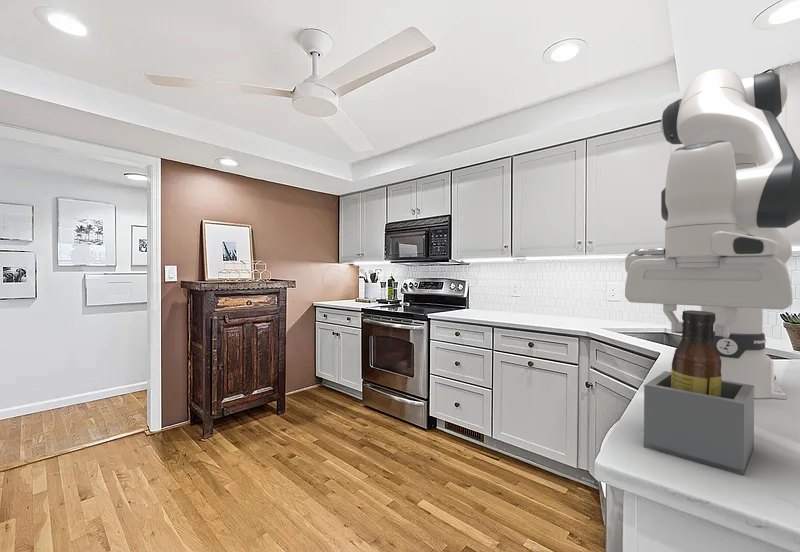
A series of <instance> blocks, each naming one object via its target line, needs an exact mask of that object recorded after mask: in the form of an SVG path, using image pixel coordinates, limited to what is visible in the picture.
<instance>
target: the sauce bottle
mask: <svg viewBox="0 0 800 552" xmlns="http://www.w3.org/2000/svg"><path fill="white" fill-rule="evenodd" d="M681 319H682V322H683V334H681V339H680V342H679V343H678V346H677V347H676V348H675V350H674V353H673V357H672V361H671V371H670V372H671V388H674V389H679V390H685V391H690V392H695V393H701V394H706V395H712V396H717V397H721V379H722V375H721V364H722V363H721V359H720V356H719V352H718V351H717V350H716V348H715V346H714V344H713V324H714V322H715V321H716V320H715V313H712V312H705V311H701V310H695V309H694V310H682V316H681Z"/></svg>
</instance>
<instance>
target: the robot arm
mask: <svg viewBox="0 0 800 552" xmlns="http://www.w3.org/2000/svg"><path fill="white" fill-rule="evenodd" d="M787 99H788V87H787V84H786V82H785V81H784V80H783V79H782V78H781V77H780V74H779V73H777V72H775V71H772V72H770V71H769V72H761V73H756V74H753V76H750V77H744V78H741V77H740V76H739V74H737V73H736V72H735V71H733V70H731V69H727V68H713V69H711V70H710V69H709V70H708V71H704V72H703V73H701V74H699V75H698V76H697V77H695V78H694V79H693V80H692V81H691V82H690V84H689V85H688V87H686V90H685V92H684V94H683V96H682V97H681V98H679V99H677V100H676V101H673V102H671V103H670V104H668V105H667V106H666V107H665V109H664V110H663V112H662V115H661V119H660V130H661V132H662V135H663V137H664V138H665V141H666V142H668V143H670V144H672V145H683V146H681V147H678V148H676V149H675V150H673V151H672V152H671V153H670V155H669V159H668V164H667V172H666V179H665V187H664V188H663V189H662V190H661V192H660V193H661V194H660V195H661V198H660V201H661V203H660V204H661V205H660V208H661V209H660V211H661V212H660V215H661V218H662V219H663V220H664V221H665V222H666V223H665V226H664V229H665V230H664V233H665V235H664V236H665V237H664V247H655V248H653V247H652V248H648V249H647V248H645V249H644V248H639V249H635V250H634V251H632V252H630V253H629V254H627V255H626V257H625V259H624V263H625V264H624V269H625V271H626V273H627V274H626V279H625V284H624V285H625V287H624V296H625V298H626V300H627V301H628V302H629V303H635V304H637V303H638V304H653V305H654V304H656V305H657V304H658V305H662V307H663V308H662V311H663V313H664V315H665V316H666V317H667V319H668V321H670V323H671V324H670V325H671V327H670V328H671V333H672V334H681V335H682V334H683V321H680V320H679V319H678V318H677V316H676V314H675V313H674V312H676V311H677V306H680V305H681V306H697V307H698V306H699V307H700V311H705V312H712V313H715V320H716V321H715V322H714V324H713V344H714V346H715V348H716V350H717V351H718V352H719V356H720V359H721V363H722V364H721V375H722V379H721V380H723V381H730V382H736V383H742V384H748V385H754V399H776V400H777V399H778V400H786V399H787V394H786V393H785V392H784V390H783V389H782V388H781V387H780V386H779V384H777V382H775V381H777V380H776V379H777V377H776V375H775V373H774V371H775V370H774V360H773V358H771V357H770V356H769V355H768V354H767V353H766V352H765V349H766V343H767V340H766V334H765V332H764V333H763V315H764V313H763V309H764V310H779V311H780V310H786V309H788V308H790V307H791V306H792V305H793V290H792V282H791V277H790V274H789V270H788V268H787V266H786V263H787V262H788V261H789V260H790V258H791V255H792V249H793V248H792V243H791V242H790V240H789V238H788V237H787V236H786V235H784V234H783V233H782V232H780V231H779V230H778V229H779V228H780V229H781V228H782V229H786V228H788V227H790V226H793V225H794V224H795V223H797V222H799V221H800V159H799V157H798V156H797V154H796V152H795V149H794V148H793V145H792V143H790V140H789V138H788V136H787V135H786V133H785V131H784V128H783V127H782V125H781V124H780V122H779V120H778V119H777V118H778V117H779V115H781V113H783V108H784V107H785V104H786V102H787Z"/></svg>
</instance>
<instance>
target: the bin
mask: <svg viewBox="0 0 800 552" xmlns="http://www.w3.org/2000/svg"><path fill="white" fill-rule="evenodd" d="M671 372H672V371H667V370H666V371H663V372H662V373H661V374H659V375H657V376H656V377H654V378H652V379H651V380H649V381H648V382H646V383H645V384H644V385H643V388H644V389H643V448H645V449H649V450H652V451H654V452H655V451H656V452H659V453H662V454H665V455H669V456H673V457H677V458H680V459H683V460H686V461H691V462H694V463H697V464H700V465H704V466H708V467H711V468H715V469H718V470H722V471H724V472H727V473H728V472H729V473H732V474H736V475H740V476H742V477H744V476H745V474H746V471H747V468H748V465H749V462H750V460H751V458H752V455H753V452H754V449H755V447H754V445H755V443H754V441H755V398H754V385H748V384H742V383H736V382H730V381H723V380H721V397H717V396H712V395H706V394H701V393H695V392H690V391H685V390H679V389H674V388H671Z"/></svg>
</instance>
